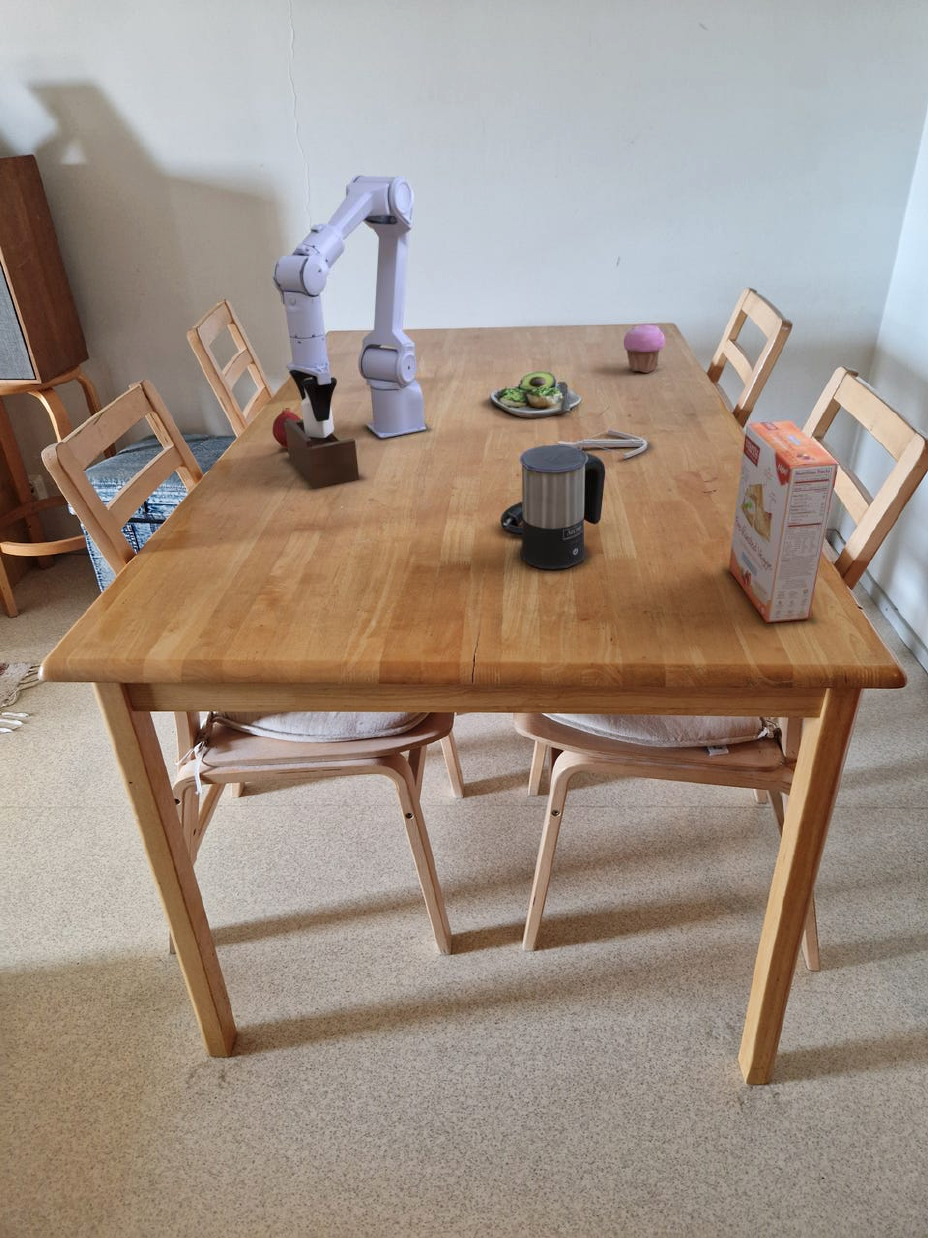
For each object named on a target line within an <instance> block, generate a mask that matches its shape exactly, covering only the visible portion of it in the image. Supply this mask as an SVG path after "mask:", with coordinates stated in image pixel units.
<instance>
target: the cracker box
mask: <svg viewBox="0 0 928 1238" xmlns="http://www.w3.org/2000/svg"><path fill="white" fill-rule="evenodd" d="M838 468H839V462H838V461H837V460H835V459H834V458H833V456H831V455H830V454H828V452H827V451H825V450H824V449H823V448H822V447H820V446H819V445H818V444H817V443H816V442H815V441H814V440H812V439H811V437H809V436H808V435H807V434H806V433H804V431H802V430H801V429H800V428H799V427H797V426H796V425H795V424H794V423H793V422H792V421H791V420H780V421H763V422H762V421H761V422H753V423H748V424H746V425H745V434H744V442H743V451H742V457H741V467H740V474H739V483H738V491H737V498H736V499H737V500H736V507H735V514H734V523H733V530H732V531H733V533H732V538H731V539H732V540H731V547H730V555H729V562H728V569H729V571H730V572H731V574H732V576H733V577H734V578H735V579H736V581H737V582H738V584H739V585H740V586H741V588H742V589H743V591H744V592H745V594H746V595H747V597H748V598H749V600H750V601H751V602H752V604H753V606H754V607H755V609H756V610H757V611H758V613H759V614H760V616H761V617H762V619H763V620H764V622H765V623H767V624H768V623H778V622H779V623H780V622H789V621H790V622H791V621H801V620H809V619H810V618H811V614H812V609H813V604H814V598H815V597H814V596H815V592H816V587H817V581H818V575H819V570H820V566H821V561H822V560H821V559H822V554H823V550H824V545H825V540H826V534H827V527H828V522H829V517H830V513H831V512H830V511H831V508H832V507H831V506H832V501H833V495H834V491H835V486H836V480H837V475H838V471H839V470H838Z"/></svg>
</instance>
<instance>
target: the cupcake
mask: <svg viewBox="0 0 928 1238" xmlns="http://www.w3.org/2000/svg"><path fill="white" fill-rule="evenodd" d="M664 334H665V333H664V332H663V331H662V330H660V328H659V326H657V325H652V324H643V325H636V326H634V327H633V328H631V329H629V330H628V331H627V332H626V334H625V336H624V338H623V347H624V348H623V349H624V350H625V351H626V354H627V359H628V365H629V367H630V369H631V370H632V371H633V372H640V373H643V374H646V373H647V374H648V373H650V372H652V371H654V370H656V368H657V367H658V363H659V355H660V351H661V350H662V349H663V348H664V347H665V346H666V337H665V335H664Z"/></svg>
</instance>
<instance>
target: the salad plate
mask: <svg viewBox="0 0 928 1238" xmlns="http://www.w3.org/2000/svg"><path fill="white" fill-rule="evenodd" d="M519 381H520V382H519V384H518V385H517V386H511V387H507V386H506V387H503V388H498V389H495V390H493V391H492V392H491V393H490V394H489V395H490V397H489V398H490V401H491V403H492V404H493V405H494V406H496V407H498V408H500V409H501V410H502V411H504V412H507V413H509V414H512V415H515V416H516V417H520V418H529V419H542V418H548V417H551V416H556V415H557V416H558V415H562V414H564V413H569V412H570V411H571V409H572V408H574V407H576V406H577V405H578V404H580V402H581V396H580V395H578V394H576V393H575V392H573V391H571V390H569V388H568V384H567V382H565V381H558V382H557V381H556V377H555V376H554V375H553V374H552V373H550V372H547V371H536V372H532V373H528V374H526V375H524V376H523V377H522V378H521V379H520V380H519Z"/></svg>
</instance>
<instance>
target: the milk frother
mask: <svg viewBox="0 0 928 1238" xmlns="http://www.w3.org/2000/svg"><path fill="white" fill-rule="evenodd" d="M519 462H520V464H521V501H519V502H517V503H515V504H513V505H511V506H509V507H508V508H506V509H505V510H504V512H502V514H501V516H500V525H501V528H502V529H503V530H504V531H505V532H507V533H509V534H510V535H514V536H521V549H520V551H519V552H520V553H519V555H520V558H521V559H522V560H523V562H525V563H526V564H527V565H530V566H531V567H534V568H537V569H544V570H563V569H569V568H571V567H574V566H577V565H578V564H580V563H582V561H583V560H584V559H585V558H586V548H585V522H587V523H589V524H592V525H597V524H599V523H600V522H601V519H602V518H601V517H602V508H603V500H604V491H605V481H606V480H605V479H606V467H605V463H604V462H603V461H602V459H601V458H600V457H598V456H596V455H594V454H592V453H588V452H585V451H584V450H583V449H581V450H580V449H579V448H575V447H570V446H565V445H558V444H548V445H539V446H536V447H531V448H529V449H527V450H525V451H523V452H522V453H521V455H519ZM584 521H585V522H584ZM521 524H522V526H520V525H521Z"/></svg>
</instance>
